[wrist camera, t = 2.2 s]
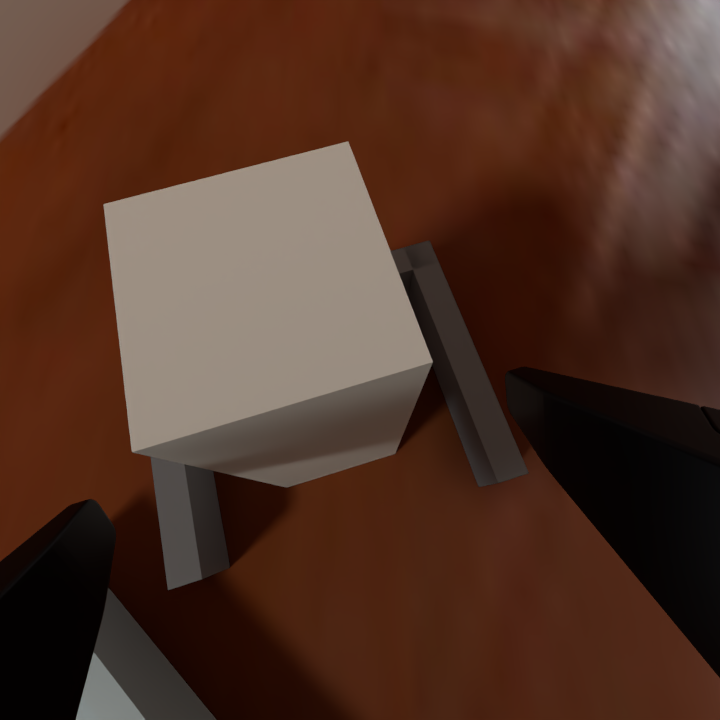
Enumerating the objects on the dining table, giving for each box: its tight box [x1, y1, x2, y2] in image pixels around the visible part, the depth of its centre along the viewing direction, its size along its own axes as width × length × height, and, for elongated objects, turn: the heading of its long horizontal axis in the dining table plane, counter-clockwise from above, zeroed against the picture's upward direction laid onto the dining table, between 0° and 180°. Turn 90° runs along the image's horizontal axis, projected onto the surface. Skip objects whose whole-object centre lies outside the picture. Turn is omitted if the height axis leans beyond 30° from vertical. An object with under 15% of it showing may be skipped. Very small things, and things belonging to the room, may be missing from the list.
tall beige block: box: [104, 142, 433, 488], centre depth 14 cm, size 6×5×12 cm
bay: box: [151, 241, 528, 590], centre depth 18 cm, size 11×13×3 cm
